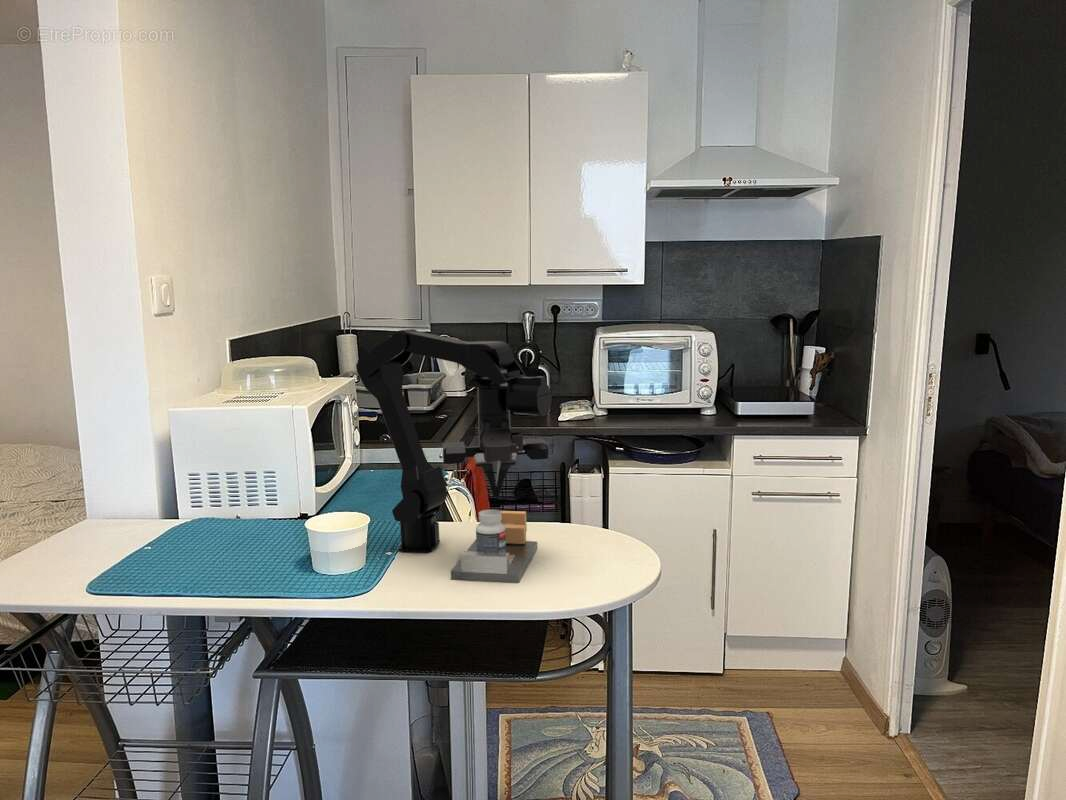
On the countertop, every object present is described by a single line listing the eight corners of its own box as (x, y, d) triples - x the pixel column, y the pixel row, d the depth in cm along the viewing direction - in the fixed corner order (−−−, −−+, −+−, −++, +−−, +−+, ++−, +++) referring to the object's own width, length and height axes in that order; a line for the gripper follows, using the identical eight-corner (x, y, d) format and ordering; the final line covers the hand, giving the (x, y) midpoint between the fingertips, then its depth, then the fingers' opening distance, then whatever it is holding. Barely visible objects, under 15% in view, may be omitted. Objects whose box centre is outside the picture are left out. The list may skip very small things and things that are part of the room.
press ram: (482, 542, 150) (481, 522, 150) (492, 529, 158) (491, 510, 157) (524, 543, 149) (523, 523, 148) (531, 531, 156) (531, 511, 155)
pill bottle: (504, 566, 138) (502, 517, 137) (474, 566, 139) (472, 516, 137) (508, 555, 143) (506, 508, 142) (479, 555, 144) (477, 508, 142)
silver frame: (450, 579, 137) (449, 554, 136) (476, 546, 153) (475, 524, 153) (518, 582, 135) (518, 557, 134) (537, 549, 151) (536, 526, 150)
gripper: (442, 422, 133) (445, 512, 135) (552, 418, 135) (553, 506, 137) (441, 411, 144) (444, 495, 146) (543, 407, 146) (544, 489, 148)
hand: (496, 497), depth 144 cm, fingers closed
